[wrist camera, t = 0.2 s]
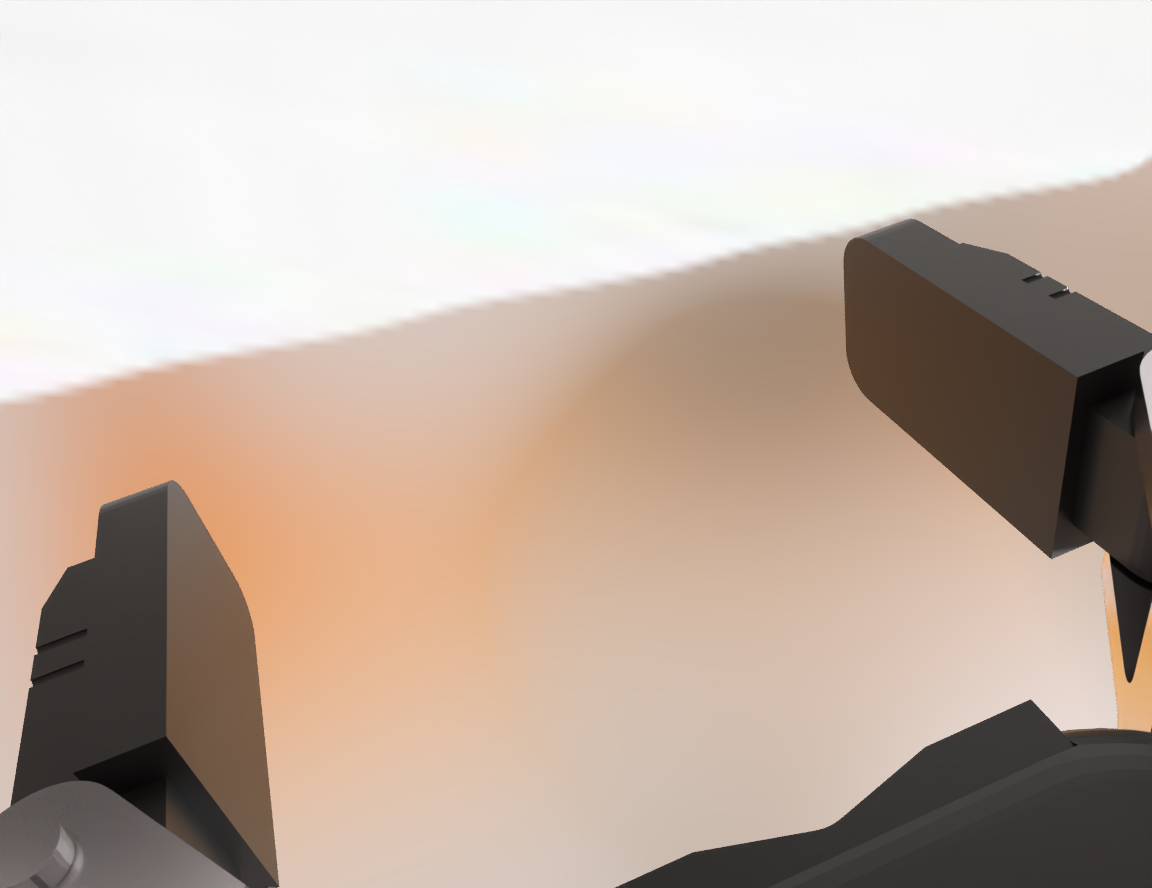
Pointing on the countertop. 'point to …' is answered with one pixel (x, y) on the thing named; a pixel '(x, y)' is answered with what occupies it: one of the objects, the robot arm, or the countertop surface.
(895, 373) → the robot arm
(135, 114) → the countertop surface
